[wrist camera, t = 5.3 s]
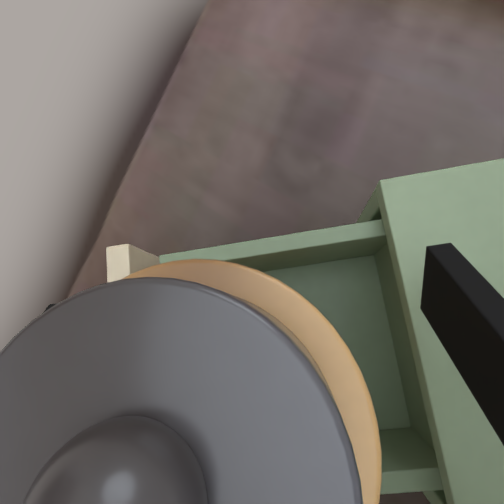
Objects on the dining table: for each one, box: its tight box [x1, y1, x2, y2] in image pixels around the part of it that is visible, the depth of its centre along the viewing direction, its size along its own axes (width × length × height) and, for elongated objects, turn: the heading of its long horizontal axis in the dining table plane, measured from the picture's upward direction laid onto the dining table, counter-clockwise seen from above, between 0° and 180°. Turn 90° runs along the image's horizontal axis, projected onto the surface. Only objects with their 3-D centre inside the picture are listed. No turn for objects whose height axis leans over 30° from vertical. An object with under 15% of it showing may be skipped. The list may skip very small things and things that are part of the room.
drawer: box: [106, 219, 444, 495], centre depth 18 cm, size 16×13×6 cm
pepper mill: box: [0, 259, 382, 504], centre depth 11 cm, size 5×5×18 cm
